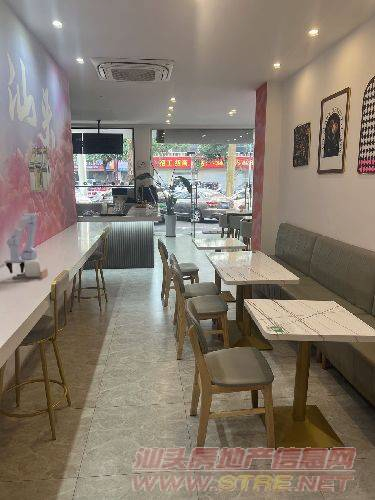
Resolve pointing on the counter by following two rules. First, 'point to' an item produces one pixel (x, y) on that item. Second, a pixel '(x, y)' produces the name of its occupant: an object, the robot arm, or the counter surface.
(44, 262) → the counter surface
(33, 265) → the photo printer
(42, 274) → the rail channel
